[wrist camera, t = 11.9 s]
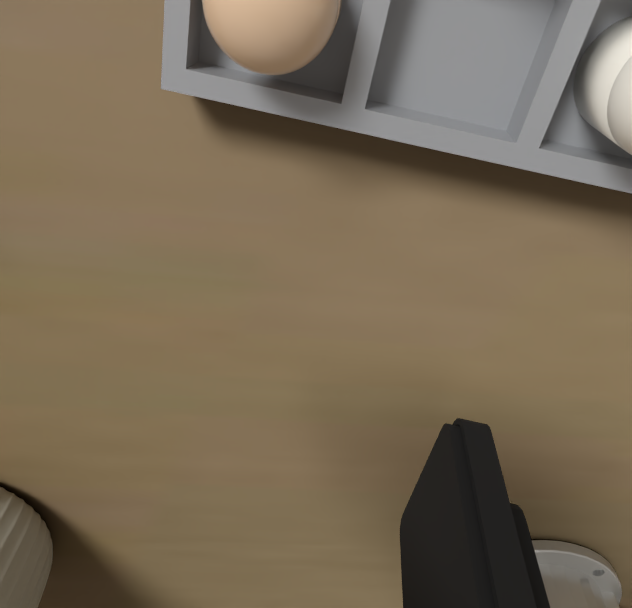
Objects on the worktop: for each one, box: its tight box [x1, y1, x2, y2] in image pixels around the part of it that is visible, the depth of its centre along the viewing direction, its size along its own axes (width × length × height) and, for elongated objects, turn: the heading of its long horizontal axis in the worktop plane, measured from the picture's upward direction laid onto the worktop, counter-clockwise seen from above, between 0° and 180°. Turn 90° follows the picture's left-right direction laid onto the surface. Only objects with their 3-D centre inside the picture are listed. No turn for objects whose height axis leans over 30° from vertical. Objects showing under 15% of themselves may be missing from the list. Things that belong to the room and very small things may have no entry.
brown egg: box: [202, 0, 342, 75], centre depth 20 cm, size 5×5×6 cm
